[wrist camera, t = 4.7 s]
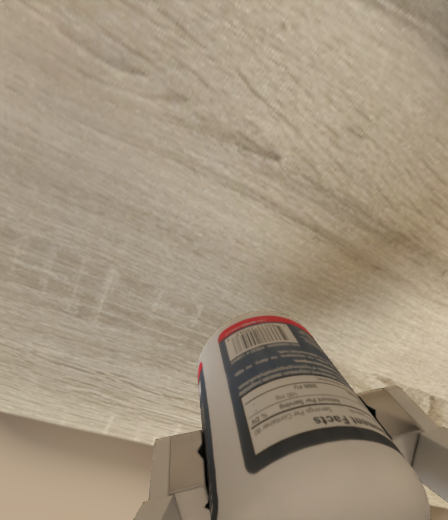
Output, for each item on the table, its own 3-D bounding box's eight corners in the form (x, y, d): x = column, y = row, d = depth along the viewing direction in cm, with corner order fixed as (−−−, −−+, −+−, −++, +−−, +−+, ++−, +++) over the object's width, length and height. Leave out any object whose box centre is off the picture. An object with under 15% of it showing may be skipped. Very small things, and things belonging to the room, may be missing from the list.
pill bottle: (267, 414, 13) (409, 826, 5) (175, 382, 12) (162, 907, 3) (333, 335, 12) (654, 700, 4) (240, 286, 11) (455, 731, 2)
